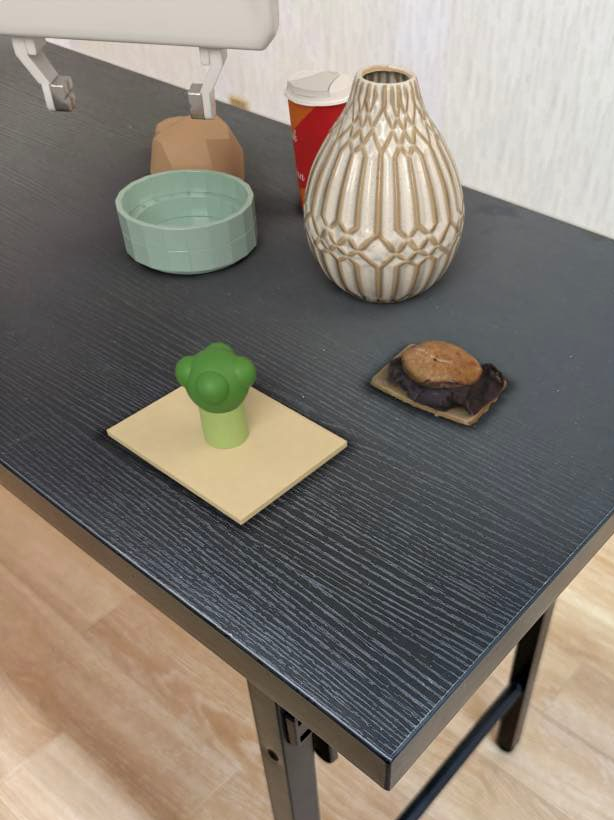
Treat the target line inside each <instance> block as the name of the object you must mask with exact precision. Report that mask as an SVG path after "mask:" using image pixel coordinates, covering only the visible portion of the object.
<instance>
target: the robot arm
mask: <svg viewBox="0 0 614 820" xmlns="http://www.w3.org/2000/svg"><path fill="white" fill-rule="evenodd" d="M279 26H280V3H279V0H0V36H6V37H7V36H8V37H10V40H11V43H12V47H13V50H14V54H15V56H16V57H17V59H18V60H19V61H20V62H21V64H22V65H23V66H24V67H25V68H26V70H27V71H28V72H29V73H30V75H31V76H32V77H33V78H34V79H35V81H36V82H37V84H39V85H41V89H42V93H43V97H44V100H45V105H46V108H47V110H48V111H49V112H56V113H57V112H60V113H61V112H62V113H63V112H65V113H72V112H73V111H74V109H76V107H77V97H76V94H75V92H74V91H73V89H74V83H73V80H72V79H73V78H72V76H71V75H60V74H59V73H58V71H57V70H56V69H55V67H54V65H52V63H51V61H50V60H49V59H48V57H47V56H46V54H45V53H44V51H43V50H42V49H43V48H44V47H45V46H46V44H47V39H55V40H57V39H58V40H73V41H89V42H90V41H91V42H104V43H105V42H107V43H108V42H109V43H121V44H141V45H154V46H155V45H156V46H157V45H158V46H172V47H173V46H175V47H188V48H189V47H191V48H192V47H193V48H198V50H199V59H200V64H201V65H202V66H206V67H208V66H210V67H209V69H208V72H207V74H206V77H205V79H204V81H203V83H194V82H192V83H191V85H190V86H189V87H190V88H189V89H188V91H187V92H186V93H187V100H188V105H189V106H190V109H189V115H190V116H191V118H192V119H200V120H214V117H215V115H217V105H216V94H215V86H216V84H217V81H218V80H219V77H220V75H221V73H222V71H223V67H224V66H225V63H226V60H227V59H228V50H239V51H241V50H242V51H255V52H262V51H264V50H266V49H267V48H268V47H269V46H270V44H271V43H272V42H273V41H274V39H275V38H276V36H277V34H278V31H279Z"/></svg>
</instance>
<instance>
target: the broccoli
mask: <svg viewBox="0 0 614 820" xmlns="http://www.w3.org/2000/svg"><path fill="white" fill-rule="evenodd" d="M174 375H175V379H176V381H177V383H178V384H179V385H180V387H181V386H183V387H184V388H185V389H186V392H187V394H188V396H189V397H190V399H191V400H192V401H193V402H194V403H195V404H196V405H197V406H198V408H199V413H200V418H201V423H202V428H203V433H204V438H205V441H206V442H207V443H208V444H209V445H210V446H212V447H214V448H218V449H230V448H234V447H237V446H239V445H241V444H242V443H244V442H245V441H246V439H247V437H248V426H247V419H246V412H245V406H244V399H245V398H246V396H247V394H248V391H249V387H253V385H254V383H255V382H256V379H257V368H256V365H255V364H254V363H253V361H252V360H250V358H247V357H245V356H242V355H238V354H236V353H235V351H234V350H233V349H232V347H231V346H230V345H228V344H226V343H224V342H218V341H217V342H213V343H210V344H209V345H207V346H206V347H205V349H202V350H200V351H198V352H197V353H195V354H194V355H189V354H188V355H186V356H183V357H181V358H180V359H179V360H178V361H177V363H176V364H175V367H174Z"/></svg>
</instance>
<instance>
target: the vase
mask: <svg viewBox="0 0 614 820" xmlns="http://www.w3.org/2000/svg"><path fill="white" fill-rule="evenodd" d="M438 128H439V127H438V126H437V125H436V123H435V122H434V121H433V119H432V118H431V116H430V115H429V113H428V110H427V109H426V106H425V102H424V99H423V97H422V92H421V89H420V84H419V79H418V77H417V75H416V73H415V72H414V71H413V70H412V69H409V68H407V67H405V66H401V65H396V64H372V65H367V66H364V67H362V68H360V69H359V70H357V71H356V73H355V74H354V76H353V80H352V87H351V91H350V95H349V98H348V101H347V103H346V106H345V108H344V110H343V111H342V113H341V115H340V116H339V117H338V119H337V120H336V122H335V123H334V124H333V126H332V127H331V129H330V130H329V132H328V134H327V135H326V137H325V139H324V141H323V142H322V144H321V146H320V148H319V150H318V152H317V154H316V156H315V158H314V161H313V164H312V166H311V170H310V173H309V177H308V181H307V185H306V190H305V196H304V204H303V210H302V215H303V216H302V217H303V226H304V230H305V235H306V240H307V243H308V246H309V249H310V251H311V253H312V255H313V257H314V259H315V261H316V263H317V264H318V266H319V268H320V269H321V271H322V272H323V273H324V274H325V276H326V277H327V278H328V279H329V280H330V281H331V282H332V283H333V284H335V286H337V287H338V288H340V289H341V290H342V291H344V292H345V293H348V294H349V295H351V296H353V297H355V298H356V299H359V300H362V301H366V302H370V303H377V304H393V303H394V304H395V303H400V302H404V301H407V300H411V299H412V298H414V297H417V296H418V295H420V294H423V292H425V291H427V290H428V289H430V288H431V287H432V286H433V285H434V284H436V283H437V282H438V281H439V280H440V279H441V278H442V276H444V274H446V271H447V270H448V269H449V267H450V265H451V264H452V262H453V260H454V258H455V256H456V254H457V252H458V249H459V246H460V244H461V240H462V236H463V235H462V234H463V232H464V227H465V226H464V225H465V217H466V215H465V214H466V213H465V212H466V211H465V200H464V199H465V198H464V193H463V187H462V182H461V177H460V173H459V171H458V168H457V164H456V162H455V160H454V156H453V154H452V152H451V150H450V149H449V147H448V144H447V142H446V141H445V138H444V137H443V135H442V133H441V132H440V130H439V129H438Z"/></svg>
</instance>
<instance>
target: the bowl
mask: <svg viewBox="0 0 614 820" xmlns="http://www.w3.org/2000/svg"><path fill="white" fill-rule="evenodd" d="M114 203H115V208H116V212H117V217H118V220H119V225H120V228H121V233H122V237H123V241H124V246H125V249H126V253H127V255H129V256H130V257H131V258H132V259H133V260H134V261H135V262H136V263H139V264H140V265H144V266H146V267H148V268H150V269H153V270H156V271H159V272H162V273H166V274H174V275H199V274H201V275H202V274H206V273H212V272H216V271H219V270H223V269H226V268H228V267H230V266H232V265H234V264H236V263H237V262H239V261H240V260H242V259H243V258H245V257H247V256H248V255H249V254H250V253H251V252H252V251H253V250H254V248H255V247H256V246H257V243H258V240H259V239H258V238H259V229H258V220H257V212H256V211H257V210H256V202H255V194H254V192H253V190H252V187H251V186H250V184H249V183H248V182H245V181H244V180H241V179H240V178H238V177H235V176H232V175H230V174H227V173H224V172H218V171H212V170H206V169H180V170H171V171H164V172H160V173H156V174H149V175H145V176H143V177H140V178H139V179H135V180H134V181H131V182H129V184H127V185H126V186H125V187H123V188H122V189H120V190H119V192H118V193H117V195H116V198H115V199H114Z"/></svg>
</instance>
